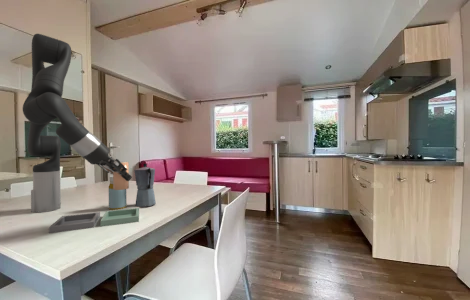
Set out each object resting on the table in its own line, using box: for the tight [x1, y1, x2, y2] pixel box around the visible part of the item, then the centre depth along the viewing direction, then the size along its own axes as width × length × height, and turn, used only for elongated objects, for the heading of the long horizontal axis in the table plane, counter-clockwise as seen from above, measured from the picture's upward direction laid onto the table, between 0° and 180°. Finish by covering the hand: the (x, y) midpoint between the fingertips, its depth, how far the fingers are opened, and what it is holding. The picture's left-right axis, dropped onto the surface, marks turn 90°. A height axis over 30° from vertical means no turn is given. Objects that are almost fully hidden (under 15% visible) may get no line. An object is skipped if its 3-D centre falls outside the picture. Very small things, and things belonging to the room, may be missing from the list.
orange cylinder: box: [112, 161, 130, 190], centre depth 81 cm, size 5×5×10 cm
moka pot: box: [133, 163, 156, 208], centre depth 102 cm, size 10×15×20 cm, turn 43°
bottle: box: [108, 175, 127, 211], centre depth 97 cm, size 7×7×15 cm
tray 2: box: [100, 207, 140, 227], centre depth 81 cm, size 12×12×2 cm
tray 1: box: [48, 211, 101, 234], centre depth 76 cm, size 12×12×2 cm
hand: (125, 178), depth 83 cm, fingers closed on orange cylinder, 5 cm apart
